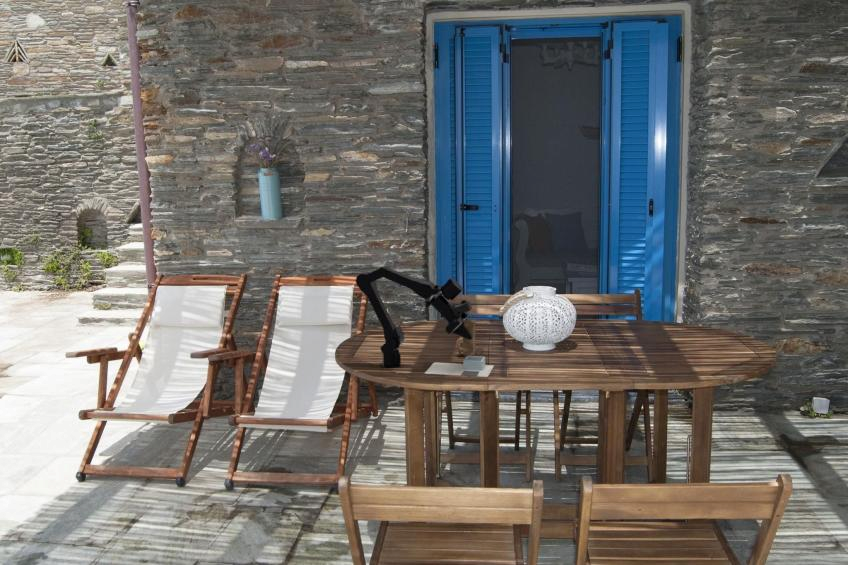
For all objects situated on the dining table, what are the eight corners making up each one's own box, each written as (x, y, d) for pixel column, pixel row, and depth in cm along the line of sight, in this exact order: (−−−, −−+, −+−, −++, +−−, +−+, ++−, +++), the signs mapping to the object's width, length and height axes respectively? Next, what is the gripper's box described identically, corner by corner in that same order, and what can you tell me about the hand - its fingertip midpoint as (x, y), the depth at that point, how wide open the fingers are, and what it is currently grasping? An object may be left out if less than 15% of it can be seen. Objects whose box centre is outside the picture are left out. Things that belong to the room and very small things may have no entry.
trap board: (424, 375, 295) (424, 373, 295) (434, 364, 310) (434, 362, 310) (487, 379, 289) (487, 376, 289) (494, 367, 305) (494, 365, 305)
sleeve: (463, 369, 299) (463, 360, 299) (467, 364, 306) (466, 355, 306) (482, 370, 298) (482, 361, 297) (485, 365, 304) (485, 356, 304)
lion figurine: (465, 361, 315) (465, 339, 314) (453, 359, 318) (453, 338, 316) (479, 352, 328) (479, 331, 327) (468, 351, 331) (468, 330, 329)
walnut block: (462, 354, 300) (463, 321, 298) (464, 352, 304) (465, 319, 302) (473, 355, 299) (473, 322, 297) (474, 352, 303) (475, 319, 301)
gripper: (454, 298, 290) (483, 329, 289) (463, 290, 308) (491, 319, 307) (433, 318, 293) (462, 349, 292) (444, 308, 311) (471, 337, 310)
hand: (472, 337), depth 300 cm, fingers closed on walnut block, 4 cm apart
